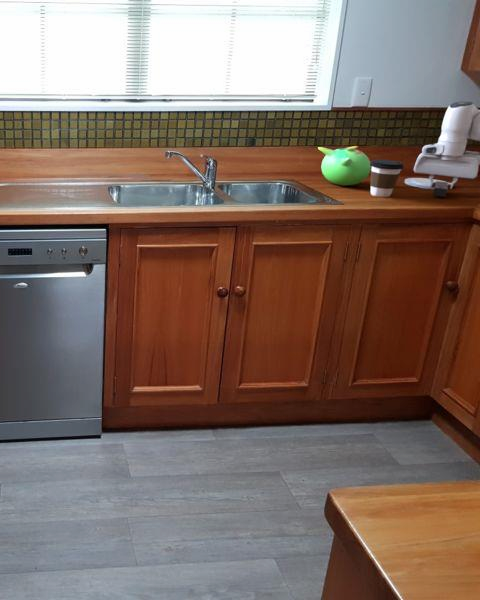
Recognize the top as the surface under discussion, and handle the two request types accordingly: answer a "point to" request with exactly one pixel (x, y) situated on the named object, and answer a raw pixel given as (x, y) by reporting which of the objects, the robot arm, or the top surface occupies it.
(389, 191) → the coffee cup
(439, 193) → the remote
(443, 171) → the robot arm
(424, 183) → the plate
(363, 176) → the toy bird
